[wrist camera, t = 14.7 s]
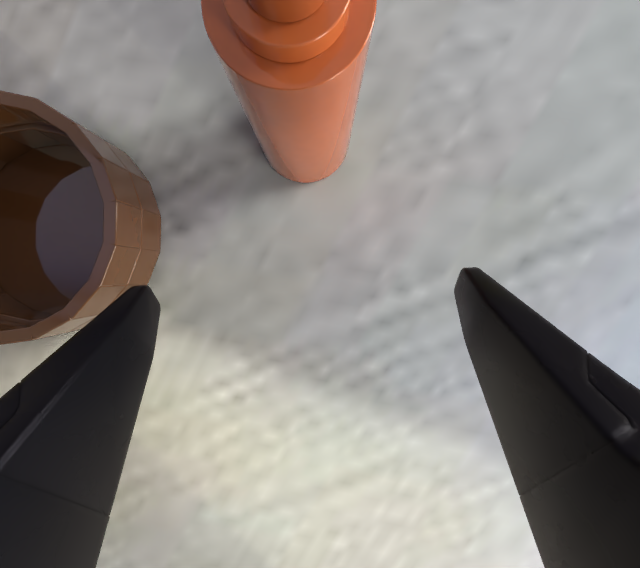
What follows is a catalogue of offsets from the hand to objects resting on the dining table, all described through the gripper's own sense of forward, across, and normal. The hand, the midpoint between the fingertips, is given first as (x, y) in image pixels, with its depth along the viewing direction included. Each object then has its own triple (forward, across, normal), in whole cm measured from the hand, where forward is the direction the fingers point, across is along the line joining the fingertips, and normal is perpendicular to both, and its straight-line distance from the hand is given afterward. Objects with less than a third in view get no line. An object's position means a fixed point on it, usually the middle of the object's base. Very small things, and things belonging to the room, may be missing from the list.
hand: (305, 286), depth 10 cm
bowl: (+9, +14, +4) cm, 17 cm away
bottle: (+12, 0, +1) cm, 12 cm away
